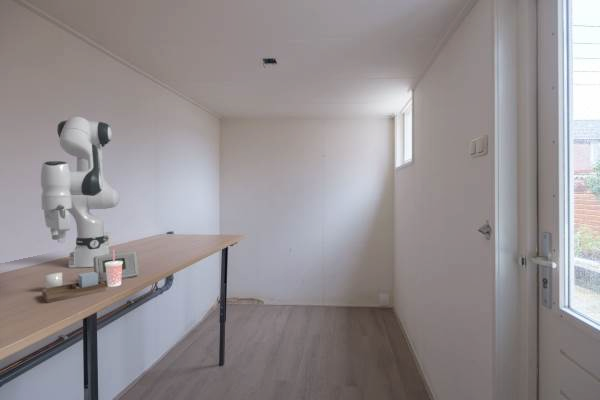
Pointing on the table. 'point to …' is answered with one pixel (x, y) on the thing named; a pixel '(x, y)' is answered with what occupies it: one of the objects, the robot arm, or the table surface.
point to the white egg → (53, 279)
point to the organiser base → (70, 291)
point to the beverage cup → (114, 272)
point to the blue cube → (87, 279)
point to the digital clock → (127, 257)
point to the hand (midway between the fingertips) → (58, 241)
